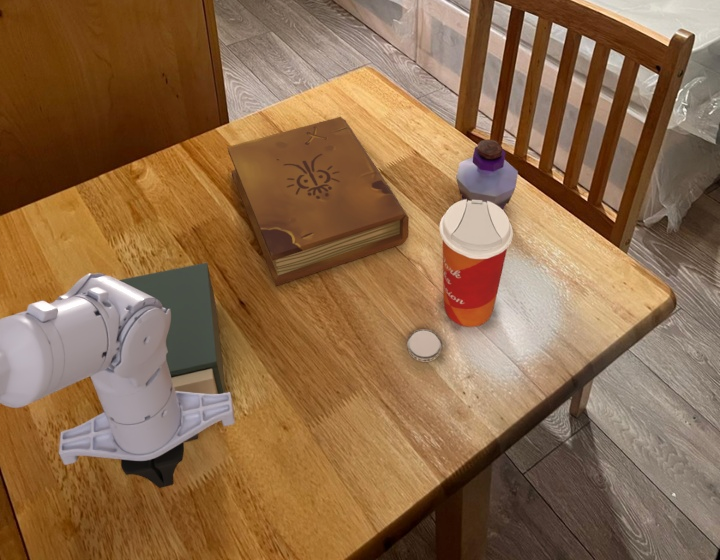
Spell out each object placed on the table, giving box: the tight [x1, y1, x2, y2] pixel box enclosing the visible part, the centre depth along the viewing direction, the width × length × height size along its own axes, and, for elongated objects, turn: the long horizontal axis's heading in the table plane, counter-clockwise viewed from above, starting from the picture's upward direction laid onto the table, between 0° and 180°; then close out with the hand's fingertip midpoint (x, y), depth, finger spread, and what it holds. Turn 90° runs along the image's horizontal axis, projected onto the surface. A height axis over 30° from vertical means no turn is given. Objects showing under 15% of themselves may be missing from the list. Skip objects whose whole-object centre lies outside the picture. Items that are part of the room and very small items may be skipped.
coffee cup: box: [438, 199, 514, 328], centre depth 86 cm, size 8×8×15 cm
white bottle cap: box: [406, 328, 442, 363], centre depth 85 cm, size 4×4×1 cm
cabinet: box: [119, 262, 227, 394], centre depth 82 cm, size 14×12×9 cm
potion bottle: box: [455, 138, 519, 211], centre depth 100 cm, size 9×9×12 cm
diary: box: [227, 116, 410, 286], centre depth 103 cm, size 23×19×6 cm
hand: (165, 476), depth 68 cm, fingers closed
